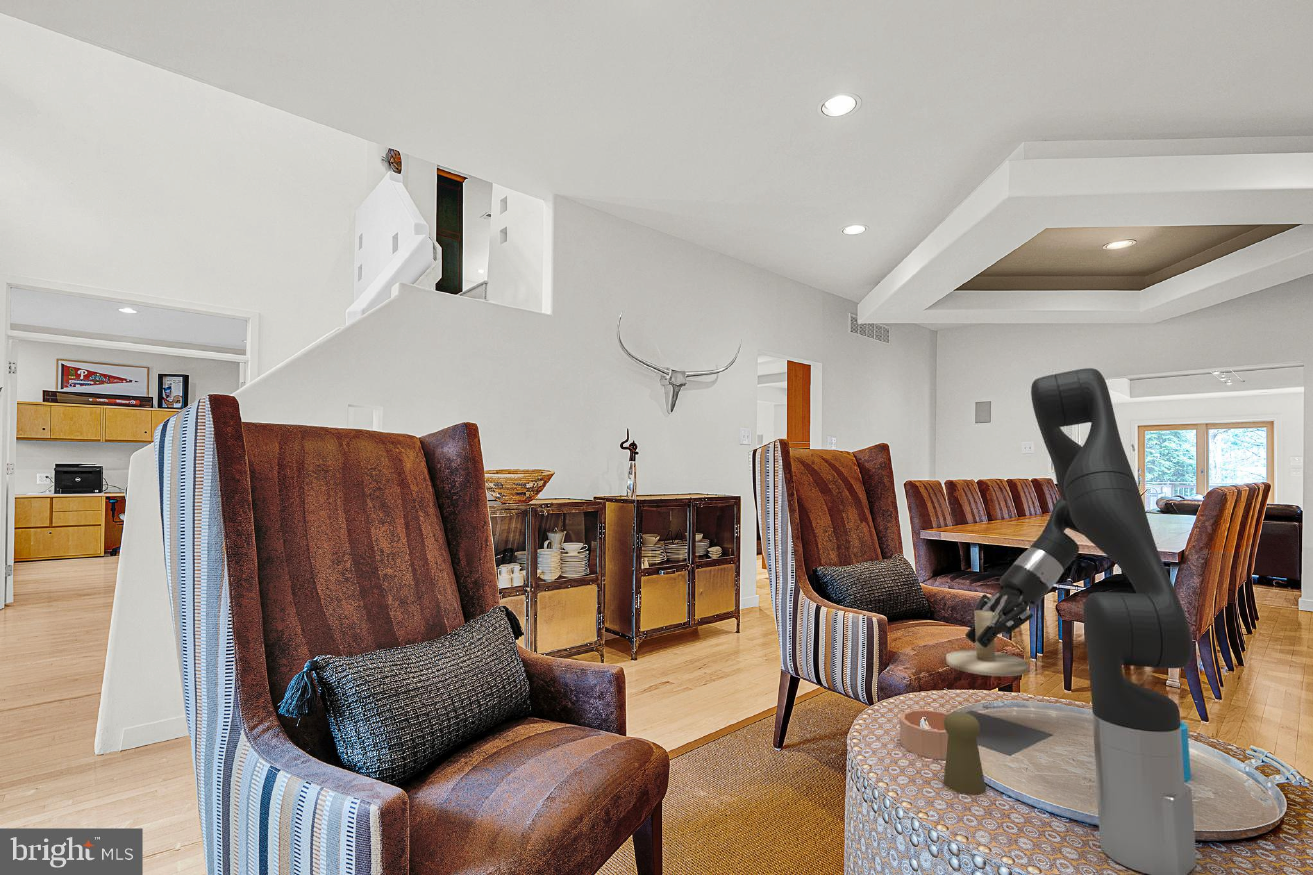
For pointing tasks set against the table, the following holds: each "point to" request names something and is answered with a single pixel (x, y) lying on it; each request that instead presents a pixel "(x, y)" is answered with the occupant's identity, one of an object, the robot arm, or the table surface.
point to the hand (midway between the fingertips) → (975, 641)
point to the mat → (1005, 734)
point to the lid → (986, 655)
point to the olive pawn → (963, 754)
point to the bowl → (924, 733)
